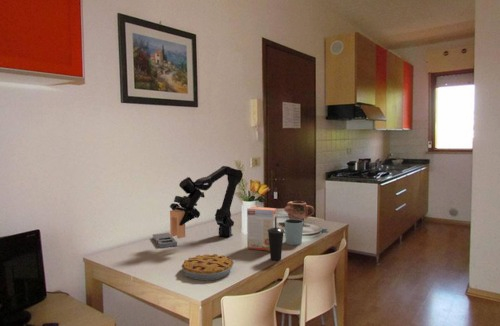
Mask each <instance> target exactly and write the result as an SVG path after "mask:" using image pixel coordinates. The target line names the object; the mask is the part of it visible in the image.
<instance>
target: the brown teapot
mask: <svg viewBox="0 0 500 326" xmlns="http://www.w3.org/2000/svg"><path fill="white" fill-rule="evenodd" d="M310 209H311V213H310V214H308V213H309V212H308V210H310ZM283 210H284V212H285V213H287V215H288V219H300V220H303V222H304V223H305V219H308V218H309V217H311V216H312V215H314V213H315V208H314V207H313V206H312V205H308V204H307V203H306V202H305V201H302V200H294V201H288V202H287V204H286V206H285V207H284V209H283Z"/></svg>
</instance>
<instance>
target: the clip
mask: <svg viewBox="0 0 500 326" xmlns="http://www.w3.org/2000/svg"><path fill="white" fill-rule="evenodd" d="M184 215H185V211H181V210H177V209H176V210H172V209H171V210H169V220H170V221H169V222H170V223H169V226H170V229H169V230H170V232H169V233H170V235H171V236H172V237H173V238H174V237H176V238H177V239H183V238H186V223H185V224H183V225H181V226H180V225H179V224H180V222H181V220H182V218H183V217H184Z"/></svg>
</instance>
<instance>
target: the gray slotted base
mask: <svg viewBox="0 0 500 326" xmlns="http://www.w3.org/2000/svg"><path fill="white" fill-rule="evenodd" d="M152 239H153V240H154V243H155V244H156V245H157V246H158V248H159V249H162V248H169V247H177V246H178V241H177V240H176V239H175V238H174V236H173V237H172V236H171V233H170V232H162V233H156V234H152Z"/></svg>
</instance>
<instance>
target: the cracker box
mask: <svg viewBox="0 0 500 326" xmlns="http://www.w3.org/2000/svg"><path fill="white" fill-rule="evenodd" d="M246 211H247V212H246V217H247V221H246V222H247V225H246V229H247V230H246V232H247V234H246V235H247V249H248V250H257V251H268V252H270V246H269V236H268V229H271V228H274V227H275V217H277V208H275V207H259V206H250V207H247V209H246Z"/></svg>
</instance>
